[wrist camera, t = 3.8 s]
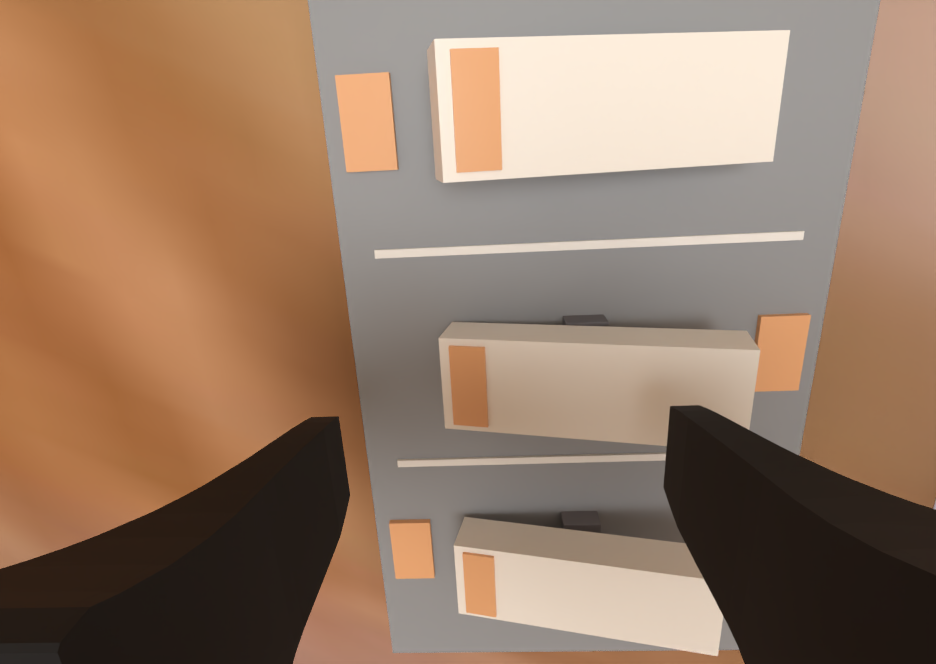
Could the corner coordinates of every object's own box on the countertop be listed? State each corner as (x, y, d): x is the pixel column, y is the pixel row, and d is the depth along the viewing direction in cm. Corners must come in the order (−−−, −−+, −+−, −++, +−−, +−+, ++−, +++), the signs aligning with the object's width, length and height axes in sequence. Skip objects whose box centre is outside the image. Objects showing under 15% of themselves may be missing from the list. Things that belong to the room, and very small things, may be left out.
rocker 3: (719, 547, 16) (728, 585, 15) (709, 617, 17) (718, 658, 16) (464, 516, 18) (452, 547, 17) (468, 581, 19) (457, 615, 18)
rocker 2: (746, 330, 14) (761, 351, 13) (734, 425, 15) (746, 454, 14) (451, 321, 16) (437, 339, 15) (457, 406, 17) (444, 430, 16)
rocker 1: (748, 41, 13) (793, 29, 12) (735, 159, 14) (776, 161, 13) (427, 50, 12) (434, 37, 11) (435, 179, 13) (443, 183, 12)
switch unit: (837, -99, 14) (930, -162, 11) (735, 596, 22) (774, 666, 19) (324, -62, 15) (284, -112, 12) (402, 600, 23) (389, 669, 20)
